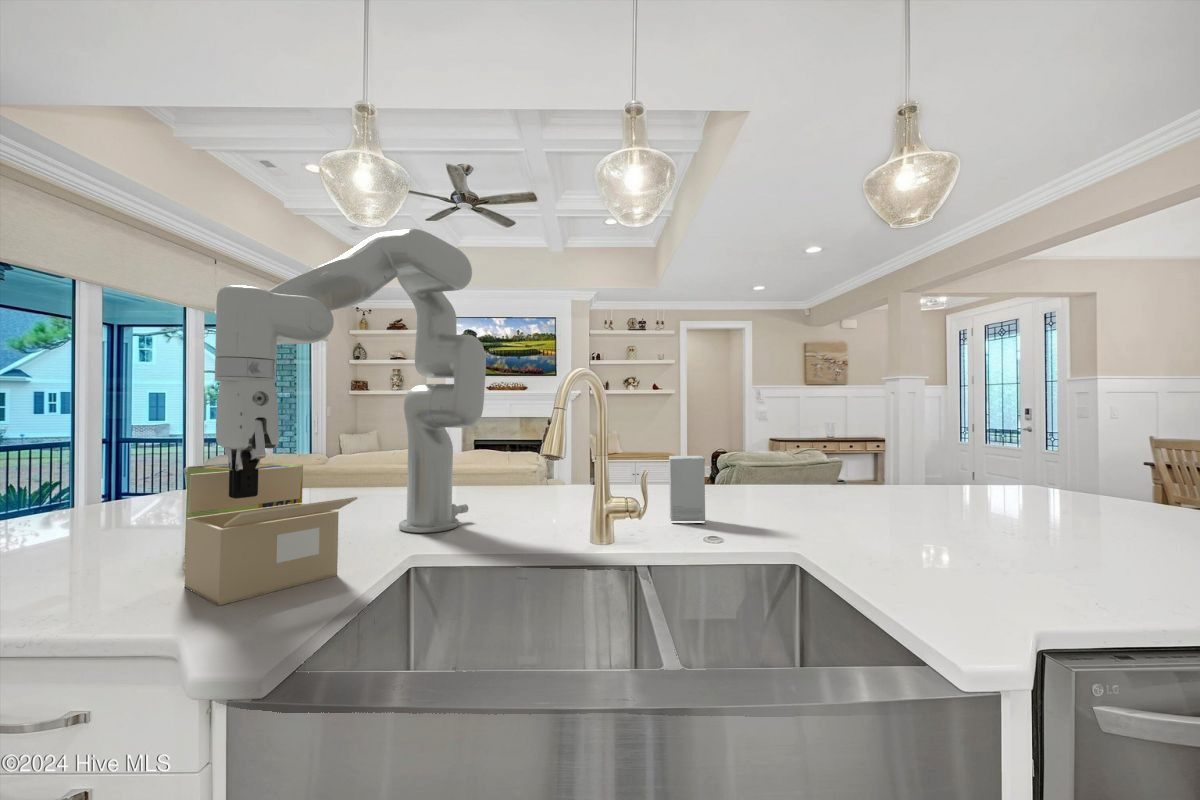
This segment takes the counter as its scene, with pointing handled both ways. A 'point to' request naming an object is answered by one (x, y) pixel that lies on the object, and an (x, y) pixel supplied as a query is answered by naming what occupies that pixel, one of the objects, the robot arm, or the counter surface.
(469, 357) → the robot arm
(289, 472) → the far flap
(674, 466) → the skincare box
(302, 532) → the carton
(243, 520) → the near flap
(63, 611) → the counter surface
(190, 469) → the protein box
